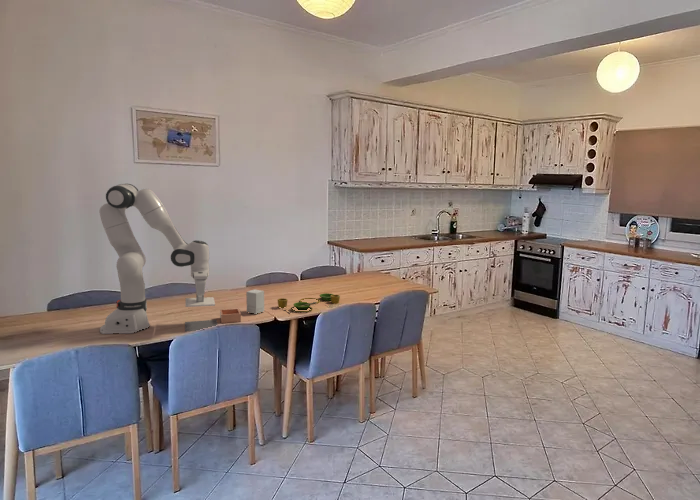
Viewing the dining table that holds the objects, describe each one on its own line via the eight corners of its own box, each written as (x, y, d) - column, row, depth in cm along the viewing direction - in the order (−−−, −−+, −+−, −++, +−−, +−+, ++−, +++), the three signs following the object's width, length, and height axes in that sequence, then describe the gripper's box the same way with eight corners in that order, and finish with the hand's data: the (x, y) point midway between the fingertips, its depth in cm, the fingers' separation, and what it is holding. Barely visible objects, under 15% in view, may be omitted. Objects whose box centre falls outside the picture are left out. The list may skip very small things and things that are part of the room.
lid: (185, 306, 227) (185, 298, 227) (185, 299, 240) (185, 291, 240) (215, 305, 232) (215, 297, 231) (213, 298, 245) (213, 290, 244)
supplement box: (264, 312, 266) (264, 290, 264) (255, 315, 260) (255, 293, 258) (255, 310, 270) (254, 289, 268) (246, 313, 264) (245, 291, 262)
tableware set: (288, 316, 261) (288, 305, 260) (270, 304, 285) (270, 294, 284) (351, 307, 283) (351, 297, 282) (329, 297, 306) (329, 287, 305)
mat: (184, 332, 228) (184, 331, 228) (185, 322, 243) (185, 321, 243) (218, 329, 233) (218, 329, 233) (216, 320, 248) (216, 319, 248)
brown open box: (221, 324, 242) (221, 315, 242) (220, 318, 252) (219, 309, 251) (240, 322, 246) (240, 313, 245) (238, 317, 255) (238, 308, 254)
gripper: (193, 268, 243) (193, 294, 245) (193, 276, 223) (193, 304, 226) (205, 268, 245) (205, 294, 247) (207, 276, 226) (207, 304, 228)
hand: (199, 299), depth 236 cm, fingers closed on lid, 3 cm apart
